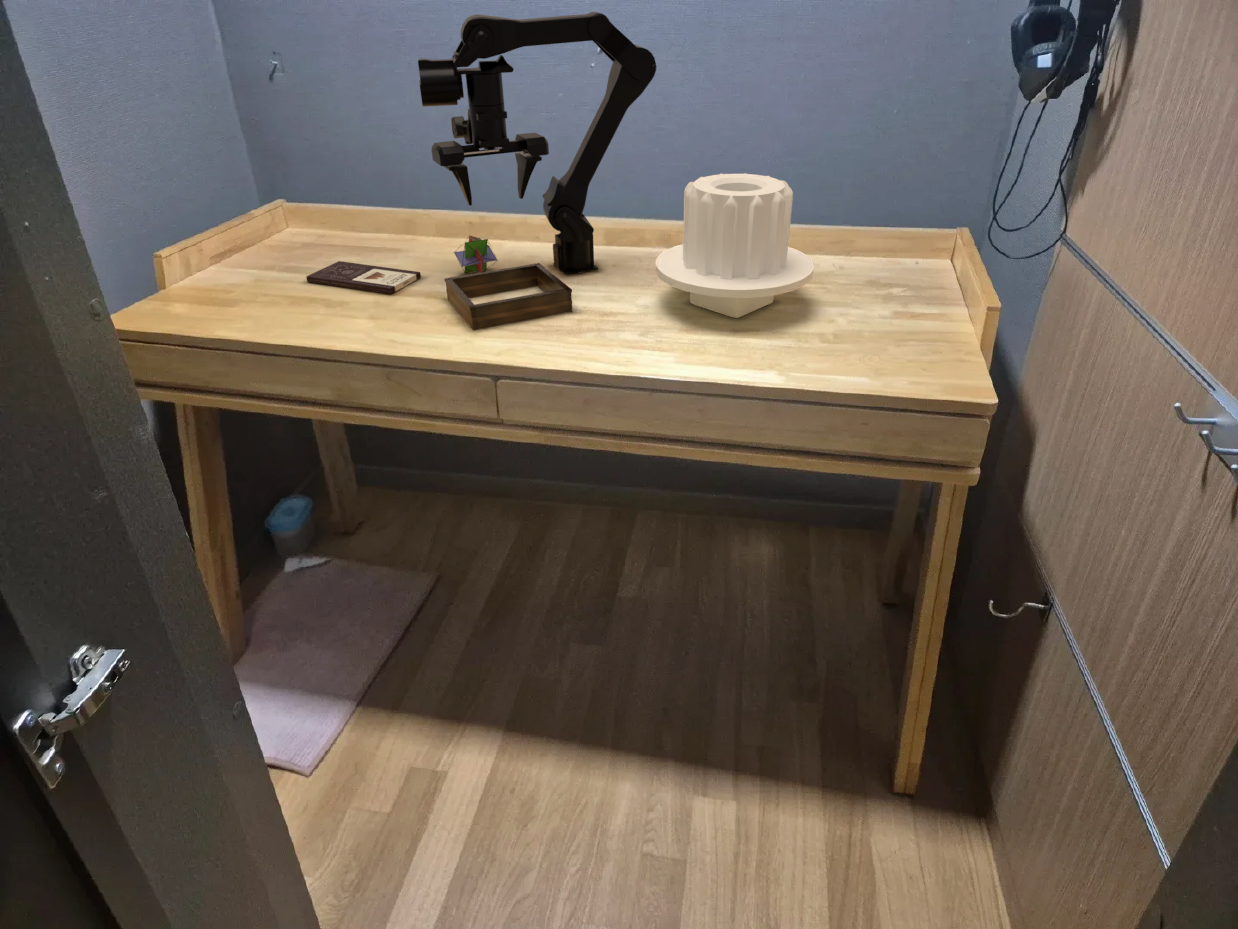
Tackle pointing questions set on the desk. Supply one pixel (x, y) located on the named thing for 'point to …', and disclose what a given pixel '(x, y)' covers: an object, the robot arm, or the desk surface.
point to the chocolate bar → (364, 277)
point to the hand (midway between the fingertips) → (495, 201)
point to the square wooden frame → (510, 309)
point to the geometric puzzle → (475, 255)
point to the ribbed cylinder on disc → (735, 244)
